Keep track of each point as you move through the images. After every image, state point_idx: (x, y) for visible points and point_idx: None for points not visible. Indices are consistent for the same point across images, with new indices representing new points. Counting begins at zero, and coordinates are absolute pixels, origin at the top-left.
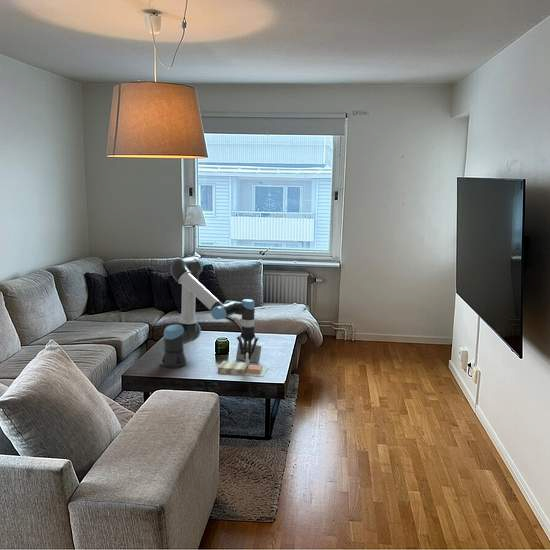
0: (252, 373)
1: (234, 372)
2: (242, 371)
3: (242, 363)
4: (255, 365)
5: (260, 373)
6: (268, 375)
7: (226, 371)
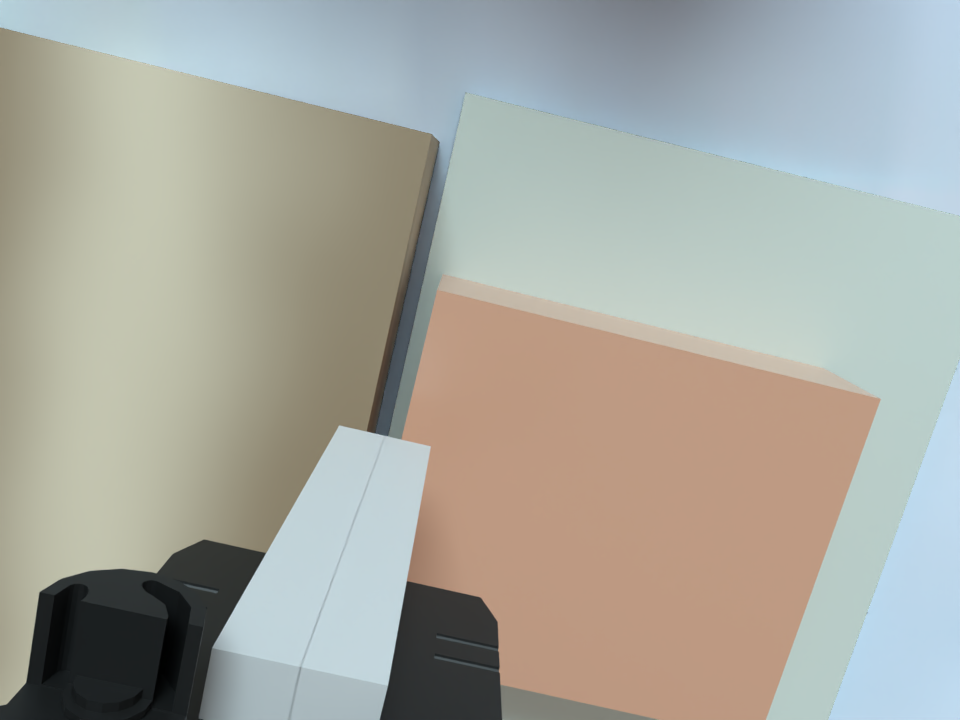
0: None
1: None
2: None
3: (187, 183)
4: (652, 363)
5: None
6: (937, 708)
7: None
